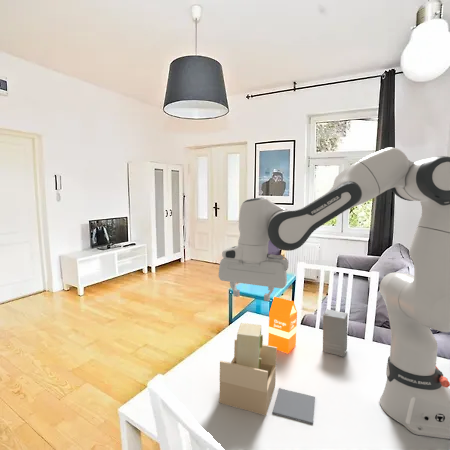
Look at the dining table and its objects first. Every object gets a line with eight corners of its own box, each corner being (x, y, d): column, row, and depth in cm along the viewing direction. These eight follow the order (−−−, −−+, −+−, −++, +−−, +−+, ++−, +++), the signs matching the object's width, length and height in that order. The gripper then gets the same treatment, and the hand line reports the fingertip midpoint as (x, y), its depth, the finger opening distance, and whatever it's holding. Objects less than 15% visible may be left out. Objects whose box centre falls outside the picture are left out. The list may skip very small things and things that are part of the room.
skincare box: (346, 350, 119) (349, 312, 117) (343, 358, 113) (345, 318, 111) (325, 344, 123) (327, 307, 122) (320, 352, 117) (322, 313, 116)
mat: (315, 398, 90) (315, 396, 90) (312, 424, 80) (312, 422, 80) (279, 389, 94) (279, 388, 94) (272, 413, 84) (272, 411, 84)
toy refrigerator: (259, 404, 87) (261, 336, 85) (234, 400, 89) (236, 333, 86) (261, 387, 95) (263, 324, 93) (238, 384, 96) (240, 322, 94)
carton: (275, 385, 96) (276, 347, 95) (265, 416, 83) (267, 372, 81) (234, 375, 101) (235, 339, 100) (219, 403, 87) (219, 361, 86)
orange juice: (276, 339, 127) (278, 294, 125) (295, 345, 122) (298, 298, 120) (267, 346, 120) (269, 299, 118) (288, 354, 115) (290, 304, 113)
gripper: (290, 254, 87) (287, 299, 88) (224, 248, 93) (223, 290, 95) (287, 258, 81) (284, 307, 82) (217, 251, 88) (216, 296, 89)
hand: (251, 298), depth 89 cm, fingers open, 8 cm apart
